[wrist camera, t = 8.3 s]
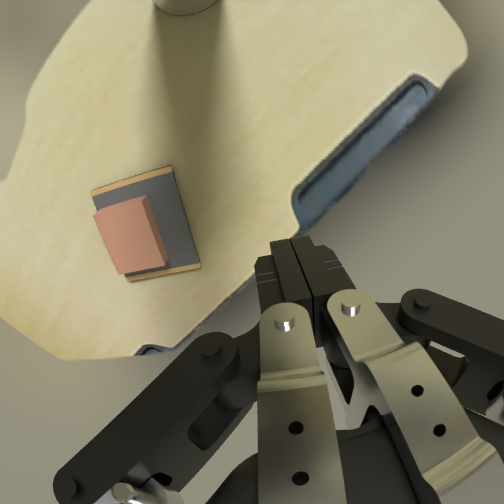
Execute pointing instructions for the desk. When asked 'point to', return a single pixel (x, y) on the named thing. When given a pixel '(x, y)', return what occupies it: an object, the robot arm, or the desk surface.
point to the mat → (156, 217)
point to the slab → (131, 235)
